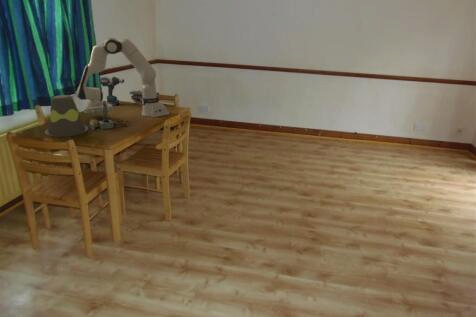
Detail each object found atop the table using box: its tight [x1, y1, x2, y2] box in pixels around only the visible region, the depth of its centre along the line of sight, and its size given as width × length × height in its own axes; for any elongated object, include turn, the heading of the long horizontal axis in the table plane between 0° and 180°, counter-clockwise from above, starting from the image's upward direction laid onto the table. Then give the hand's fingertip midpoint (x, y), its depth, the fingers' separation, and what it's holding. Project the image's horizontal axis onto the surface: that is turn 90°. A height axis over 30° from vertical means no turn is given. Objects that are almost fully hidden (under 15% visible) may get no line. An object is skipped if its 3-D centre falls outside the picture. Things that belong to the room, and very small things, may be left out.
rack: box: [112, 119, 128, 128], centre depth 270 cm, size 8×8×3 cm
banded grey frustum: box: [44, 94, 89, 138], centre depth 251 cm, size 28×28×24 cm
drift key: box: [89, 118, 100, 128], centre depth 266 cm, size 4×8×4 cm, turn 34°
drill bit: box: [102, 100, 110, 123], centre depth 262 cm, size 3×3×19 cm
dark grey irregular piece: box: [129, 90, 160, 106], centre depth 336 cm, size 25×8×11 cm, turn 79°
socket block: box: [88, 119, 115, 131], centre depth 263 cm, size 15×8×4 cm, turn 124°
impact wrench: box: [99, 76, 125, 106], centre depth 327 cm, size 8×22×25 cm, turn 78°
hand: (101, 111), depth 270 cm, fingers open, 8 cm apart
